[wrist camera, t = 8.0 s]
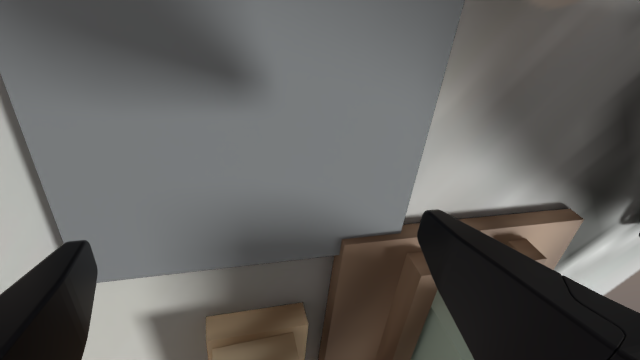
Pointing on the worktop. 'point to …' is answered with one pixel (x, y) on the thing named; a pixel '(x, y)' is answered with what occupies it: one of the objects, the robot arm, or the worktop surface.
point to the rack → (415, 282)
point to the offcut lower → (257, 326)
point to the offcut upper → (260, 349)
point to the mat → (224, 122)
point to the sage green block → (440, 336)
